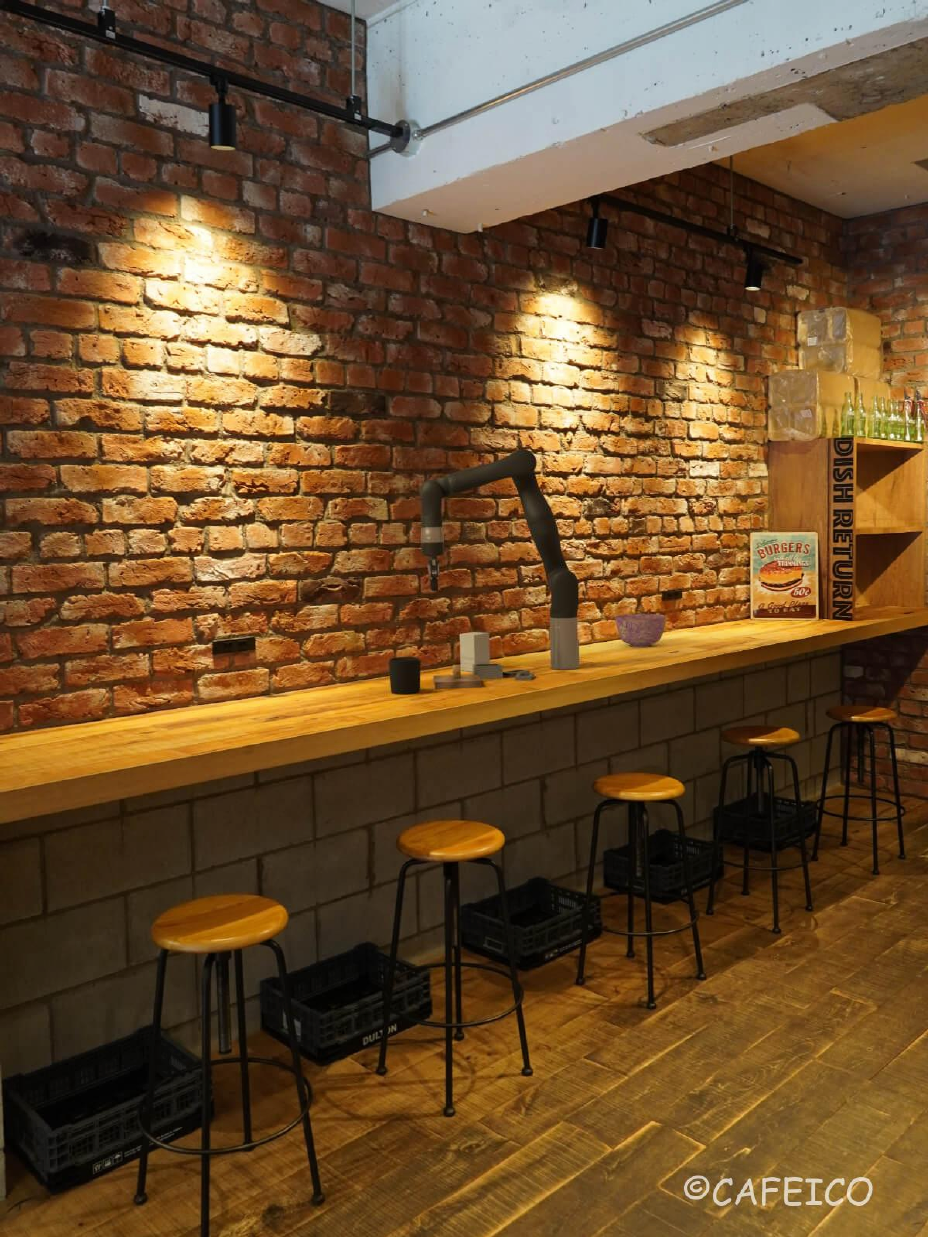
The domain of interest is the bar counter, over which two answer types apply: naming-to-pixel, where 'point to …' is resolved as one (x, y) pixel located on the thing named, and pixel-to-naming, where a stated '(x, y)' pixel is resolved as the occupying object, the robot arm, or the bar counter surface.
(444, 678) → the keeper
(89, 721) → the bar counter surface
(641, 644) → the purple bowl
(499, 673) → the end link
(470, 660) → the supplement box
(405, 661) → the pen holder
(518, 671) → the slack link
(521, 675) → the slack link
